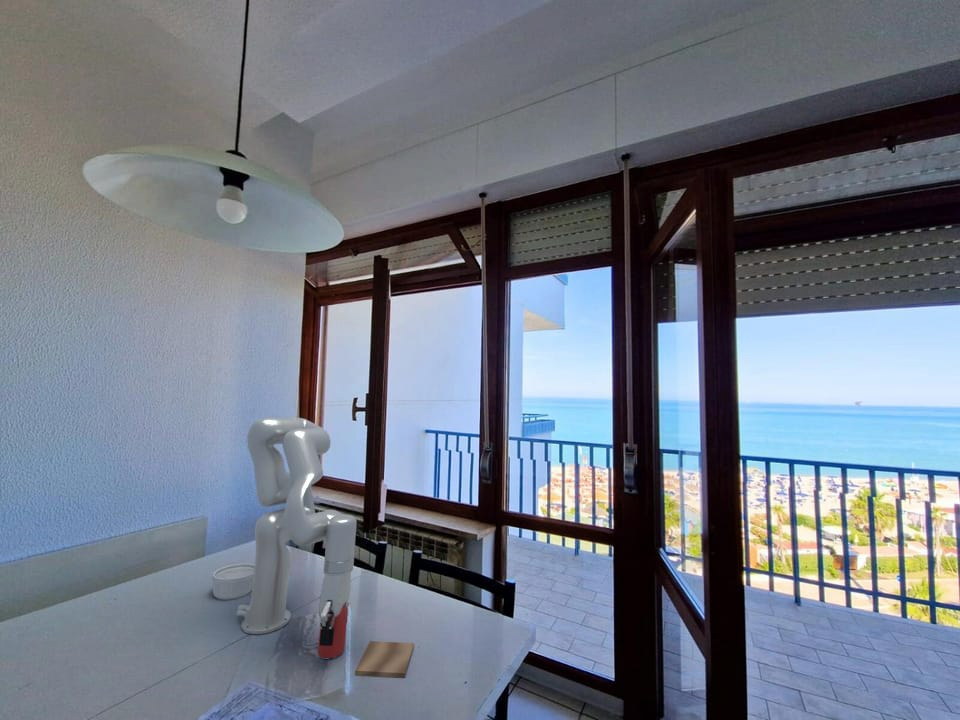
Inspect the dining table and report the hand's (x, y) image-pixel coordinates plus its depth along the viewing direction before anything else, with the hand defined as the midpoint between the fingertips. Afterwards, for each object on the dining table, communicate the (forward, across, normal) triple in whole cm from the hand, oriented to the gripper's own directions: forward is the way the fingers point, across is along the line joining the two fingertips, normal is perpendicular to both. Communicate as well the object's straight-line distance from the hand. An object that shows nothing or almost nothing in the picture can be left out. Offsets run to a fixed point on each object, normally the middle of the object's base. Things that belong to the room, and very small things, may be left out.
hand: (333, 634), depth 100 cm
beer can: (+5, 0, 0) cm, 5 cm away
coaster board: (+5, +2, +14) cm, 15 cm away
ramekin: (+4, -29, -46) cm, 54 cm away
